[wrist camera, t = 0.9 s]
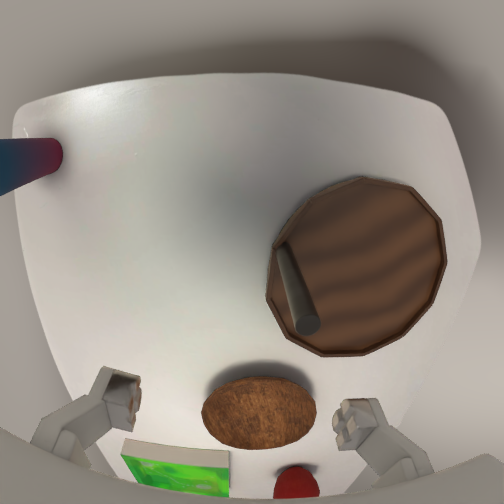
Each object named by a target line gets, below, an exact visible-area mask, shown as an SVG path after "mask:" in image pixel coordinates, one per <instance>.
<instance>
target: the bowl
mask: <svg viewBox="0 0 504 504" xmlns="http://www.w3.org/2000/svg"><path fill="white" fill-rule="evenodd" d="M201 414H202V419H203V423H204V425H205V427H206V428H207V430H208V431H209V433H210V434H211V435H212V436H213V437H215V438H216V439H217V440H218V441H220V442H221V443H222V444H225V445H228V446H231V447H234V448H239V449H246V450H262V449H271V448H277V447H282V446H285V445H288V444H290V443H293V442H296V441H298V440H299V439H301V438H302V437H303V436H305V435H306V434H307V433H308V432H309V431H310V429H311V428H312V426H313V425H314V422H315V418H316V414H317V412H316V405H315V401H314V400H313V399H312V397H311V396H310V395H309V394H308V392H307V391H306V390H305V389H304V388H303V387H301V386H300V385H298V384H295V383H293V382H291V381H289V380H286V379H284V378H276V377H267V376H258V377H247V378H243V379H239V380H235V381H232V382H229V383H226V384H224V385H223V386H221V387H219V388H217V389H215V390H214V392H213V393H212V394H211V395H210V396H209V397H208V399H207V400H206V401H205V402H204V404H203V408H202V411H201Z"/></svg>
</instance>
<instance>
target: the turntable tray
mask: <svg viewBox="0 0 504 504" xmlns="http://www.w3.org/2000/svg"><path fill="white" fill-rule="evenodd" d="M446 266H447V254H446V246H445V238H444V232H443V225H442V220H441V219H440V217H439V216H438V215H437V214H436V213H435V211H434V210H433V209H432V208H431V207H430V206H429V205H428V203H427V202H426V201H425V200H424V199H423V198H422V197H421V196H420V194H419V193H418V192H417V191H416V190H415V189H414V188H413V187H411V186H409V185H404V184H399V183H394V182H390V181H386V180H382V179H374V178H368V177H363V176H362V177H358V178H355V179H353V180H349V181H344V182H341V183H339V184H336V185H333V186H331V187H329V188H327V189H325V190H323V191H321V192H319V193H318V194H316V195H315V196H313V197H310V198H309V200H308V199H307V201H306V202H305V203H304V204H303V205H302V206H301V207H300V208H299V209H298V210H297V211H296V212H295V213H294V214H293V215H292V216H291V218H290V219H289V220H288V221H287V223H286V224H285V226H284V227H283V229H282V230H281V232H280V234H279V236H278V238H277V239H276V241H275V242H274V243H273V246H272V248H271V256H270V260H269V265H268V275H267V287H266V294H265V296H266V301H267V303H268V305H269V307H270V309H271V311H272V313H273V315H274V317H275V319H276V321H277V323H278V324H279V326H280V328H281V330H282V332H283V334H284V336H285V338H286V339H288V340H289V341H291V342H293V343H295V344H297V345H299V346H301V347H303V348H305V349H307V350H309V351H310V352H312V353H314V354H316V355H318V356H320V357H356V356H365V355H367V354H370V353H372V352H374V351H376V350H378V349H380V348H382V347H384V346H387V345H389V344H391V343H393V342H395V341H397V340H399V339H401V338H402V336H403V337H404V336H405V335H406V334H407V333H408V332H409V331H410V329H411V328H412V327H413V326H414V325H415V324H416V323H417V322H418V321H419V320H420V319H421V317H422V316H423V315H424V314H425V313H426V312H427V311H428V310H429V308H430V307H431V306H432V304H433V303H434V300H435V298H436V295H437V292H438V290H439V287H440V284H441V281H442V278H443V275H444V272H445V269H446Z"/></svg>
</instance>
